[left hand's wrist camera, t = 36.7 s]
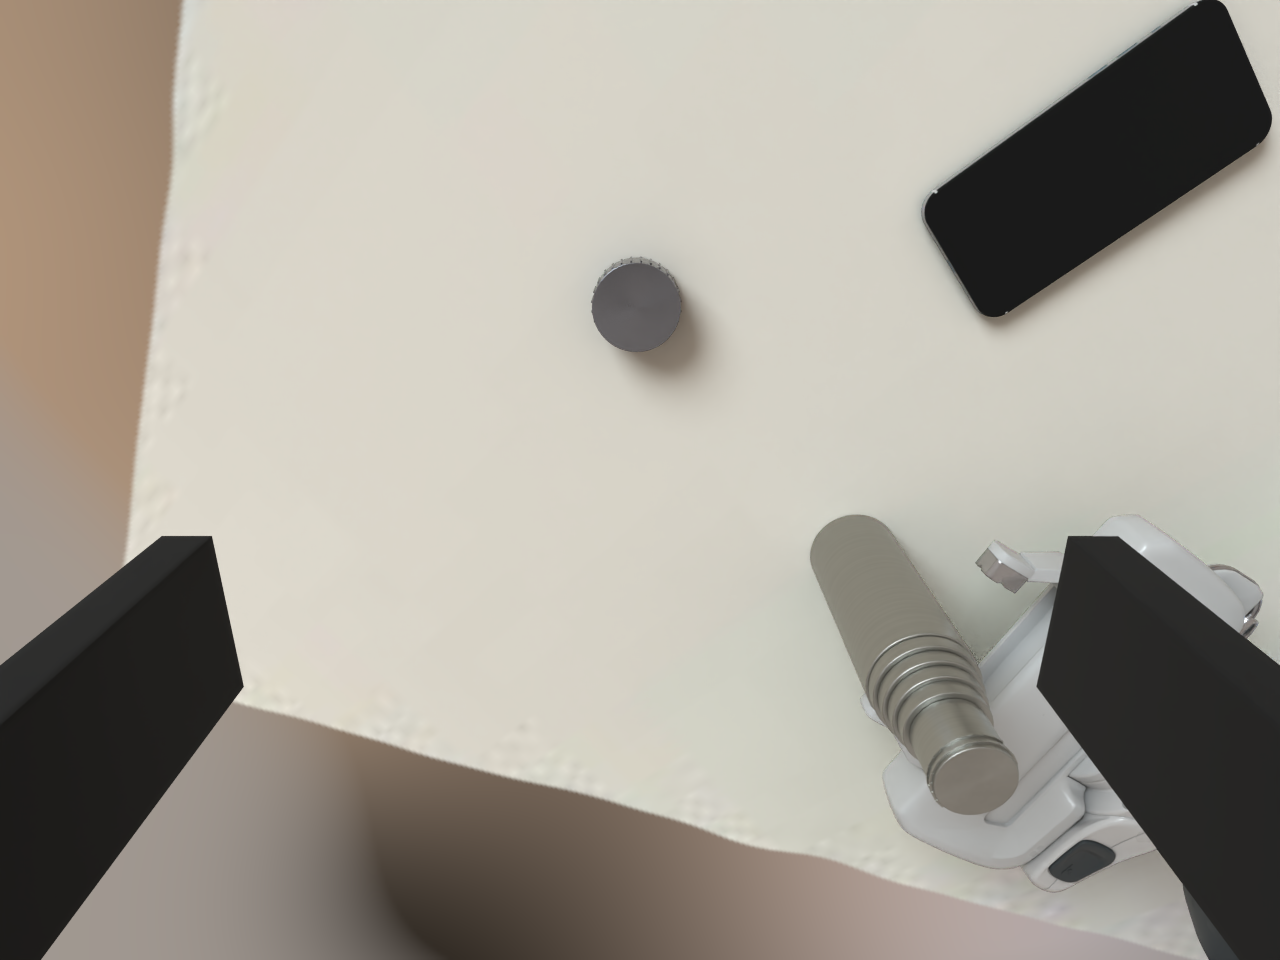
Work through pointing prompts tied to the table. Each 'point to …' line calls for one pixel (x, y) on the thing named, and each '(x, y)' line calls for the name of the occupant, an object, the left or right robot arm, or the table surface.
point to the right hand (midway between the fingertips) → (927, 628)
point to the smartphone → (1100, 159)
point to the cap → (636, 304)
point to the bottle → (913, 665)
